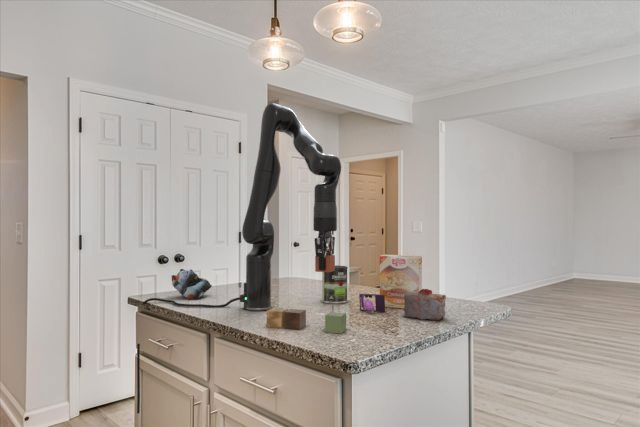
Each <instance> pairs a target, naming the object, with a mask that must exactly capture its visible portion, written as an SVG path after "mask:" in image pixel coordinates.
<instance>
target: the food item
mask: <svg viewBox="0 0 640 427" xmlns="http://www.w3.org/2000/svg"><path fill="white" fill-rule="evenodd" d="M404 299H405V309H404V318H411V319H419V320H422V321H423V320H430V321H441V320H443V319H444V318H445V317H446V308H445V307H446V300H447V296H446V294H439V293H433V290H431V289H429V288H422V290H420V291H419V292H412V291H411V292H410V291H408V292H407V293H405V295H404Z"/></svg>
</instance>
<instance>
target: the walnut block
mask: <svg viewBox="0 0 640 427" xmlns="http://www.w3.org/2000/svg"><path fill="white" fill-rule="evenodd" d="M306 314H307V310H306V309H297V308H290V309H288V311H286V312H285V326H284V329H287V330H296V331H297V330H298V331H300V330H302V329H304V328H306V326H307V315H306Z"/></svg>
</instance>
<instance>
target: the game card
mask: <svg viewBox="0 0 640 427" xmlns="http://www.w3.org/2000/svg"><path fill="white" fill-rule="evenodd" d="M373 297H374V303H375V306H374V304H373V301H371V300H370V299H372V298H373ZM358 298H359V311H362V312H371V313H372V314H374V313H375V312H378V313H386V307H385V295H380V293H378V294H377V293H359V295H358ZM368 298H369V299H368ZM364 299H365V300H364Z"/></svg>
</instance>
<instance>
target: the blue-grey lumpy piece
mask: <svg viewBox="0 0 640 427" xmlns="http://www.w3.org/2000/svg"><path fill="white" fill-rule="evenodd" d="M170 276H171V286H172V287H173V288H174V289H176V291H177V292H178V293H179V294H180V296H183V297H185V298H186V300H198V299H199V298H201V297H202V296H203V295H204V294H205V293H206V292H208V291H209V290H210V289H211V288H212V287H213V285H212V284H211V283H210V282H209V280H208V279H206V278H203V277H202V278H201V277H199V275H198V274H197V273H196V272H195V271H193V269H188V270H186V269H183V268H180V269H179V271H178V273H177V274H175V275H174V274H173V275H170Z"/></svg>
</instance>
